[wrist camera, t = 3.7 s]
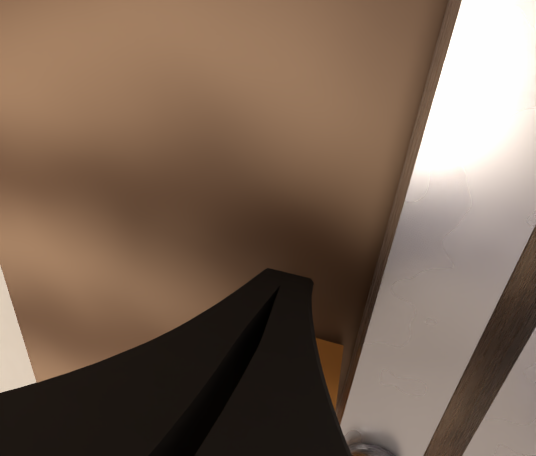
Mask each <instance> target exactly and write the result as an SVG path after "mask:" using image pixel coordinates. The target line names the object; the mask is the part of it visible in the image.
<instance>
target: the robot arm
mask: <svg viewBox="0 0 536 456" xmlns="http://www.w3.org/2000/svg"><path fill="white" fill-rule="evenodd" d="M313 285H314V282H313V281H312V280H311V278H307V277H303V276H299V275H295V274H291V273H287V272H283V271H279V270H275V269H270V268H267V269H265V270H263V271H262V272H260V273H259V274H258V275H256V276H255V277H254V278H252V279H251V280H250V281H248V282H247V283H246V284H244V285H243V286H242V287H240V288H239V289H237V290H236V291H235V292H233V293H232V294H230V295H229V296H227V297H226V298H224V299H223V300H221V301H220V302H218V303H217V304H215V305H214V306H212V307H211V308H209V309H207V310H206V311H204V312H202V313H201V314H199V315H197V316H196V317H194V318H192V319H191V320H189V321H187V322H186V323H184V324H182V325H180V326H178V327H176V328H175V329H173V330H171V331H169V332H167V333H165V334H163V335H161V336H159V337H157V338H155V339H152V340H150V341H148V342H146V343H144V344H141V345H139V346H137V347H134V348H132V349H129V350H127V351H124V352H122V353H119V354H117V355H114V356H112V357H110V358H107V359H105V360H102V361H100V362H97V363H94V364H92V365H89V366H86V367H83V368H80V369H77V370H74V371H72V372H69V373H66V374H63V375H59V376H56V377H53V378H50V379H47V380H44V381H41V382H37V383H34V384H31V385H27V386H24V387H21V388H17V389H13V390H10V391H6V392H2V393H0V456H352V454H351V452H350V449H349V447H348V444H347V442H346V440H345V437H344V435H343V432H342V429H341V427H340V424H339V421H338V418H337V415H336V412H335V409H334V406H333V404H332V400H331V397H330V394H329V391H328V387H327V384H326V381H325V377H324V373H323V369H322V365H321V361H320V357H319V352H318V348H317V343H316V337H315V331H314V324H313V316H312V291H313Z"/></svg>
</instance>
